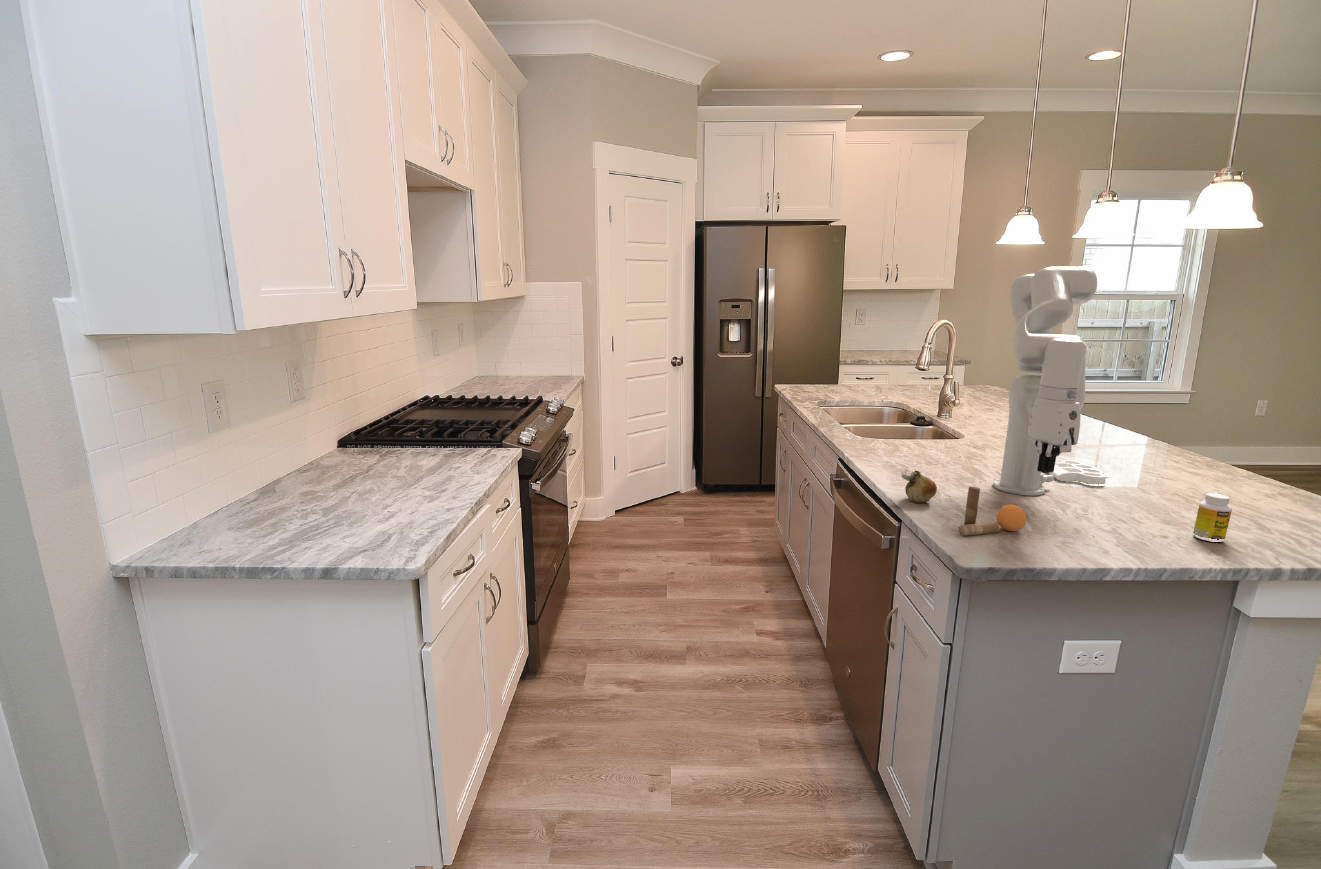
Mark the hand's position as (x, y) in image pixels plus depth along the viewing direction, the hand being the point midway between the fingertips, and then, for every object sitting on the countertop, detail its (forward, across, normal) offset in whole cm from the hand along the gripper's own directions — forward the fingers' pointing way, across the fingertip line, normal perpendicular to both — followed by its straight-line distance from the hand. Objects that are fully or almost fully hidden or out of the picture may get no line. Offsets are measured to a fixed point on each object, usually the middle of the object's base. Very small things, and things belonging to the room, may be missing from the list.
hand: (1045, 471), depth 150 cm
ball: (+10, -2, +10) cm, 14 cm away
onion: (+13, +20, +18) cm, 30 cm away
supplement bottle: (+13, -17, -30) cm, 37 cm away
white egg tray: (+15, +29, -42) cm, 54 cm away
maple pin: (+12, -2, +14) cm, 18 cm away
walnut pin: (+13, +3, +16) cm, 21 cm away
